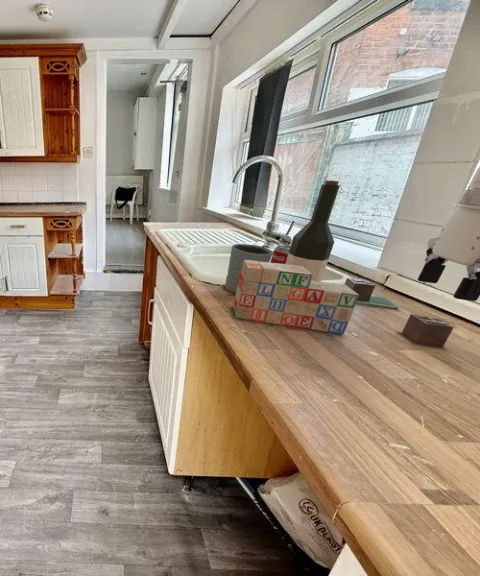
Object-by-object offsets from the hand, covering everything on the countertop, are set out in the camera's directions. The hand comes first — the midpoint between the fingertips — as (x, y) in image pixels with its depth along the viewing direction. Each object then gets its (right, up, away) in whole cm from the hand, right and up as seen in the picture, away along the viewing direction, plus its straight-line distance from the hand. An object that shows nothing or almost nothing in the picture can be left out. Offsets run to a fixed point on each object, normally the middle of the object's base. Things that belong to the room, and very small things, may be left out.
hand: (444, 290), depth 60 cm
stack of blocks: (-26, -7, +9) cm, 29 cm away
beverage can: (-16, 0, +29) cm, 34 cm away
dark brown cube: (+2, -2, +23) cm, 24 cm away
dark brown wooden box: (0, -10, +4) cm, 11 cm away
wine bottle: (-17, -3, +20) cm, 26 cm away
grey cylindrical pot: (-28, 0, +26) cm, 38 cm away
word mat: (+5, -3, +23) cm, 24 cm away
